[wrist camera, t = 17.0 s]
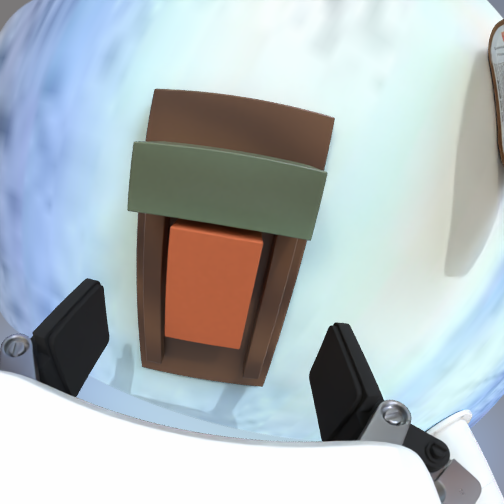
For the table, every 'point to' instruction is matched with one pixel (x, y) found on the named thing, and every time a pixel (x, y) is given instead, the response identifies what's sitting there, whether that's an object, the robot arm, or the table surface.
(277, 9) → the table surface
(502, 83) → the tin
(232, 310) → the block
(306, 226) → the cradle
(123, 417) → the robot arm
